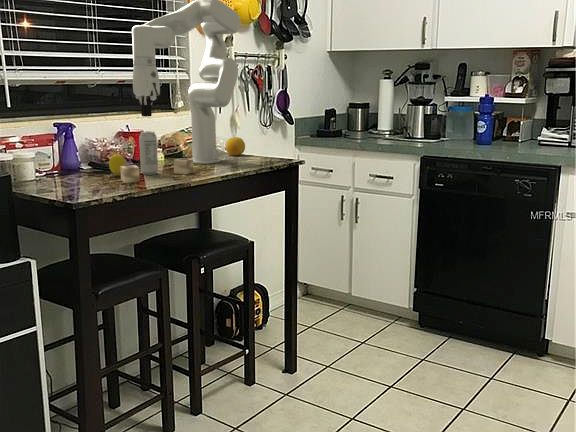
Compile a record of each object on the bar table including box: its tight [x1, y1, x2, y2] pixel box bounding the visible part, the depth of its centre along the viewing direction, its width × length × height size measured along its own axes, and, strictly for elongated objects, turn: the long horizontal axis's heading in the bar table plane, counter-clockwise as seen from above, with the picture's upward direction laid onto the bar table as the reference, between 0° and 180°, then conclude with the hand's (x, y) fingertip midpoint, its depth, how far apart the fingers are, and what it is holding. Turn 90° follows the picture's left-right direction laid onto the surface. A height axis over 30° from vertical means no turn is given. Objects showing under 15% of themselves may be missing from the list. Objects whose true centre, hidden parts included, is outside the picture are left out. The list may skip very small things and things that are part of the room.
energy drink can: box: [138, 130, 159, 176], centre depth 224 cm, size 6×6×15 cm
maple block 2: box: [173, 157, 194, 175], centre depth 228 cm, size 5×5×5 cm
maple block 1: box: [120, 164, 141, 184], centre depth 211 cm, size 5×5×5 cm
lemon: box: [108, 152, 126, 176], centre depth 221 cm, size 6×6×8 cm
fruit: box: [224, 136, 246, 157], centre depth 270 cm, size 9×8×8 cm
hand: (146, 116), depth 220 cm, fingers closed
